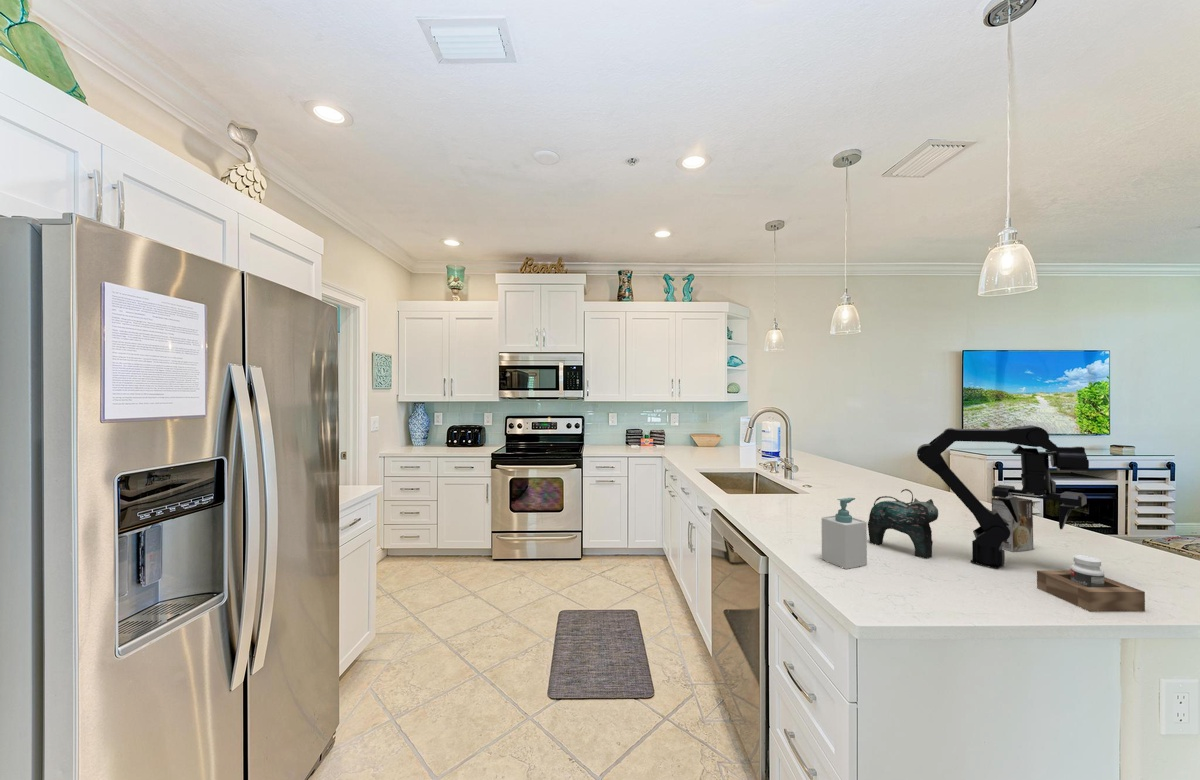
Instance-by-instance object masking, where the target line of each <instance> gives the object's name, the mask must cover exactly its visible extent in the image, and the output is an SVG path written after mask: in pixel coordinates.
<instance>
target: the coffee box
mask: <svg viewBox="0 0 1200 780" xmlns="http://www.w3.org/2000/svg"><path fill="white" fill-rule="evenodd" d="M1016 497H1017V509H1018V515H1019V522H1018V523H1016V522H1015V520H1014V518H1013V516H1012V515H1011V513H1010V511H1009V509H1008V508H1007V507H1006V505H1005V504H1004V503H1003V501H1002V500H998V498H999V497H991V511H992V510H993V509H996V510H997V512H998V513H999V515H1000V516H1001V517H1002V518H1004V519H1005V520H1006V521H1007V523H1008V524H1009V526H1007V527H1008V528H1009V530H1010V537H1009V538H1008V539H1007V540H1006V541H1003V542H1002V550H1004V551H1007V550H1008V552H1011V553H1015V552H1016V553H1017V552H1025V551H1030V550H1031V551H1032V550H1034V514H1033V509H1034V508H1033V499H1028V498H1025V497H1024V498H1023V497H1019V496H1016Z"/></svg>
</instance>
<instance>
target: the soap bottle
mask: <svg viewBox="0 0 1200 780" xmlns="http://www.w3.org/2000/svg"><path fill="white" fill-rule="evenodd" d="M855 500H856V498H855V497H847V498H845V497H844V498H837V501H839V502H840V503H839V505H840V509H838V510H837V513H836V514H834V515H830V516H829V515H828V516H823V517H821V560H822V559H824V560H826V561H825V562H827V561H828V563H829V562H830V563H829V564H832V563H833V564H832V565H834V564H835V566H837V565H838V566H837V567H839V566H840V568H842V567H843V568H842V569H844V568H845V569H844V570H848V569H849V568H850V569H855V568H858V567H859V566H860V567H864V566H867V565H868V557H867V556H868V550H867V549H868V545H867V544H868V539H867V538H868V534H867V530H868V522H867V521H865V520H862V519H860V518H859V519H858V518H855V517H853V515H852V514H850V511H849V510H848V509H847V507H848V505H847V504H849V503H851V502H853V501H855ZM824 560H823V561H824ZM854 567H855V568H854ZM850 569H849V570H850Z"/></svg>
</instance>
